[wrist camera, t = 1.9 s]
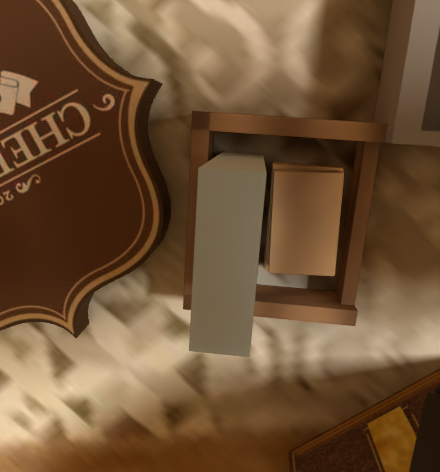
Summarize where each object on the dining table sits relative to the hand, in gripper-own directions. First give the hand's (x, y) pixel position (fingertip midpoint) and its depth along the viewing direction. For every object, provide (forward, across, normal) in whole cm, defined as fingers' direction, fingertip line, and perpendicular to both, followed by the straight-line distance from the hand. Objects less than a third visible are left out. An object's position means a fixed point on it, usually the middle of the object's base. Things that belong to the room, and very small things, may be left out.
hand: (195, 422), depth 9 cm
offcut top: (+23, -5, 0) cm, 24 cm away
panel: (+25, 0, 0) cm, 25 cm away
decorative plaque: (+26, +19, -2) cm, 32 cm away
